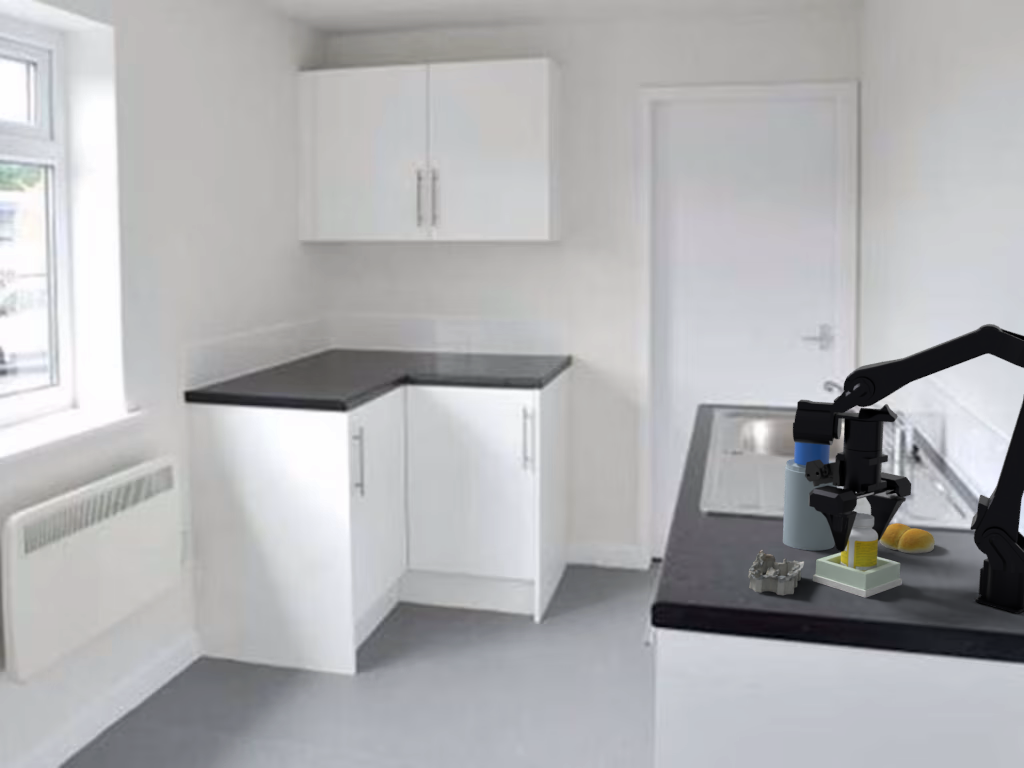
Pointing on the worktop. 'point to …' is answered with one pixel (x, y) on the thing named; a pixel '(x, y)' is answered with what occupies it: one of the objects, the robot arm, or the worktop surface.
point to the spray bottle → (804, 502)
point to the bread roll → (907, 539)
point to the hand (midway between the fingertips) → (858, 545)
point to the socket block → (857, 576)
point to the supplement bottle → (861, 544)
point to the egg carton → (774, 574)
